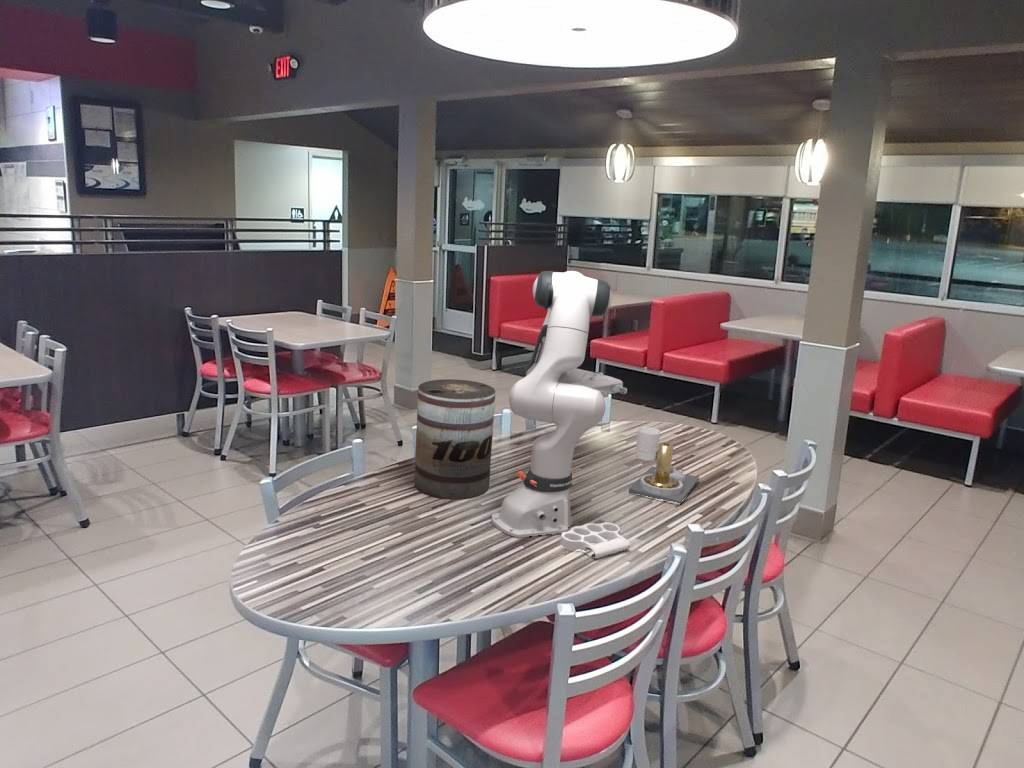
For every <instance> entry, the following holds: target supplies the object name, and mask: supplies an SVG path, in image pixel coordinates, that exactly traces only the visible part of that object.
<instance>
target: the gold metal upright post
mask: <svg viewBox="0 0 1024 768" xmlns="http://www.w3.org/2000/svg"><path fill="white" fill-rule="evenodd" d="M674 447H675V446H674V444H672V443H670V442H665V441H661V442H659V444H658V449H657V455H656V457H657V459H656V464H655V467H656V472H655V477H654V476H653V477H651V479H648V480H647V484H649V485H651V486H655V487H659V488H670V489H671V488H675V485H676V483H673V480H672V479H669V477H670V470H671V466H672V462H673V461H672V460H673V454H674V453H673V452H674Z"/></svg>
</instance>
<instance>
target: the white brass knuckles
mask: <svg viewBox="0 0 1024 768" xmlns="http://www.w3.org/2000/svg"><path fill="white" fill-rule="evenodd" d="M620 532H621V528H620V526H619V525H617V524H616V523H613V522H607V521H606V522H605V521H604V522H602V523H595V522H594V523H593V522H591V523H590V522H588V523H584V524H583V525H575V526H572V527H571V528H570V530H569V529H568V532H563V533H562V534H560V535H561V536H560V544H561V545H562V546H563V547H565V548H568V549H581V550H584V551H587V550H593V551H594V553H595V555H594V556H595V559H598V558H602V557H605V556H604V555H606V556H608V555H607V554H610V555H612V554H611V553H614V554H616V553H615V552H617V553H619V552H618V551H621V552H623V551H622V550H624V551H626V550H625V549H629V548H630V549H631V544H630V542H629V540H627V539H626V537H624V536H622V534H621V535H620ZM606 539H609V541H607V540H606ZM590 543H595V544H594V545H592V544H590ZM630 549H629V550H630ZM601 556H602V557H601Z"/></svg>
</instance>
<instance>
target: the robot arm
mask: <svg viewBox="0 0 1024 768" xmlns="http://www.w3.org/2000/svg"><path fill="white" fill-rule="evenodd" d="M532 296H533V299H534V303H535V304H536V305H537V306H539V307H540V308H542V309H543V310H545V311H546V315H545V319H544V321H543V323H542V326H541V329H540V331H539V334H538V337H537V340H536V343H535V346H534V350H533V353H532V357H531V358H530V359H531V360H530V361H528V363H526V365H525V366H524V367H525V368H524V372H525V373H524V374H525V376H524V377H522V378H521V379H518V380H517V381H516V382H515V383H514V384H513V386H512V387H511V388H510V391H509V394H508V403H509V409H510V410H511V412H512V413H513V414H514V415H516V416H518V417H521V418H523V419H527V420H529V421H530V420H531V421H536V422H541V423H548V424H549V423H550V424H554V425H556V430H554V431H551V432H547V433H545V434H543V435H541V436H538V437H537V438H536V439H535V440H534V441H533V443H532V445H531V447H532V448H531V456H530V457H531V459H530V468H529V469H528V470H527V471H528V472H527V473H525V472H523V471H522V470H519V471H518V472H517V473H516V476H517V478H518V479H520V480H522V481H523V483H521V484H520V485H519V486H518V487H517V488H516V489H514V490H513V491H512V492H511V493H509V494H508V495H507V496H506V497H504V498H503V501H502V502H501V503H502V504H501V507H500V512H496V513H493V514H491V522H492V524H493V525H494V527H496V528H497V529H498V530H500V531H501V532H503V533H504V534H506V535H509V536H510V535H511V537H513V536H514V537H513V538H517V537H521V538H530V537H529V536H532V537H539V536H538V535H542V536H547V535H546V534H552V535H557V534H556V533H563V532H568V531H569V528H570V526H572V524H573V518H572V512H571V498H570V493H571V491H570V490H571V487H572V482H573V472H572V467H573V466H572V464H573V460H574V459H573V458H574V453H575V449H576V446H577V443H578V441H579V440H580V439H581V437H582V436H583V435H584V434H585V433H586V432H587V431H589V430H590V429H592V428H594V427H595V426H597V425H598V424H599V423H600V422H601V421H602V420H603V418H604V416H605V414H606V400H605V398H608V397H609V395H612V394H616V393H619V394H622V395H626V394H627V393H628V389H627V387H624V382H623V381H622V380H621V379H618V378H615V377H613V376H609V375H604V373H603V372H599V371H590V370H584V369H581V368H579V367H580V366H581V365H582V364H583V362H584V360H585V358H586V350H587V345H588V337H589V331H590V317H601V316H604V315H605V314H606V313H607V311H608V309H609V308H610V306H611V304H612V299H613V294H612V290H611V285H610V284H609V283H608V281H606V280H602V279H600V278H597V279H595V278H592V277H589V276H586V275H584V274H582V273H581V272H579V271H576V270H567V271H564V272H561V271H560V272H559V271H553V270H544V271H543V270H542V271H541V272H540V273H538V275H537V277H536V279H535V280H534V282H533V285H532ZM568 527H569V528H568Z"/></svg>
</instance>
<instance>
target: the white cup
mask: <svg viewBox="0 0 1024 768" xmlns="http://www.w3.org/2000/svg"><path fill="white" fill-rule="evenodd" d="M636 433H637V434H636V445H635V447H636V448H635V449H636V453H635V454H636V455H635V457H636V458H637V459H638V458H639V459H638V460H640V461H646V462H647V461H648V462H652V461H655V460H656V457H657V453H658V448H659V443H660V436H661V430H659V429H657V428H653V427H649V426H641V427H638V428H637V431H636Z"/></svg>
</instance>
